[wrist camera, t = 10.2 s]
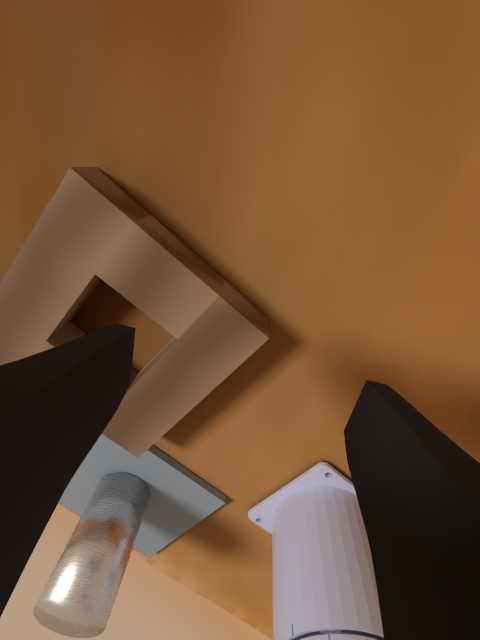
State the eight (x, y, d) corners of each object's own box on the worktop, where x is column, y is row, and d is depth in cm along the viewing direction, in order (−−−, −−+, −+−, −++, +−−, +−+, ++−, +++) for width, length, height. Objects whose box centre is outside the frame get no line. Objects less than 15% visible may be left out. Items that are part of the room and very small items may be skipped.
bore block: (269, 318, 20) (269, 338, 18) (150, 430, 24) (138, 458, 22) (96, 167, 17) (70, 167, 15) (-3, 323, 22) (-35, 341, 19)
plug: (160, 492, 26) (119, 623, 19) (130, 515, 27) (81, 644, 20) (117, 464, 25) (56, 591, 18) (88, 489, 26) (20, 615, 19)
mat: (226, 496, 26) (225, 503, 26) (151, 550, 30) (149, 557, 29) (95, 405, 24) (91, 411, 23) (30, 477, 27) (25, 483, 27)
